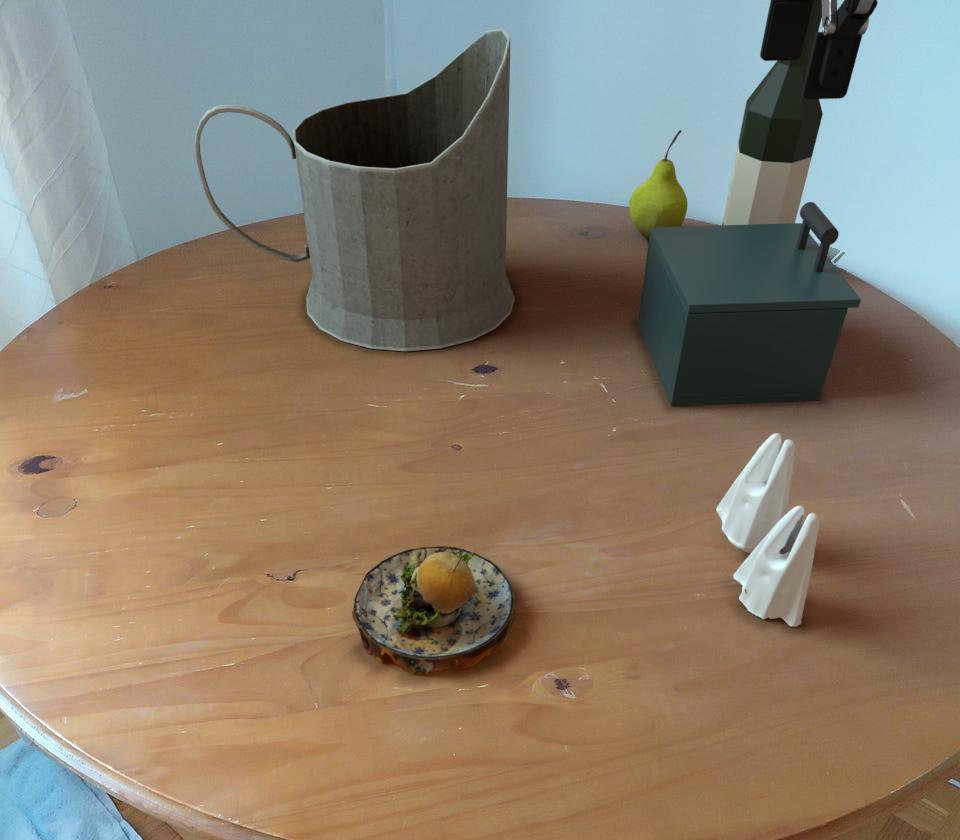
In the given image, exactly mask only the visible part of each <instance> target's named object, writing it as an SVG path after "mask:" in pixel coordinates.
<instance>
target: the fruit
mask: <svg viewBox="0 0 960 840" xmlns="http://www.w3.org/2000/svg"><path fill="white" fill-rule="evenodd" d="M681 133H682V130H681V129H679V130H678V131H677V133H676V134H675V135H674V138H673V139H672V141H671V142H670V144H669V146H668V148H667V149H666V153H665V155H664V158H662V159H660V160H659V161H658V162H657V163H656V164H655V166H654V168H653V171H652V173H651V175H650V176H649V177H648V178H647V179H646V180H645V181H644V182H642V183H641V184H640V185H638V186H637V187H636V188H635V189H634V190H633V192H632V193H631V196H630V197H629V203H628V205H629V208H628V209H629V215H630V218H631V221H632V224H633V226H634V228H635V229H636V230H637V232H638V233H639V234H641V235H642V236H643V237H645V238H646V239H649V237H650V229H651V227H681V226H682V224H683V223H684V221H685V219H686V216H687V213H688V212H687V211H688V198H687V195H686V192H685V190H684V188H683V187H682V186H681V184H680V183H679V180H678V179H677V175H676V167H675V165H674V162H673V161H672V160H671V159H668V155H669V152H670V150H671V148H672V146H673V144H674V143H675V142H676V140H677V138H678V137H679V135H680V134H681Z"/></svg>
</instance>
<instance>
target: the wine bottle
mask: <svg viewBox="0 0 960 840" xmlns="http://www.w3.org/2000/svg"><path fill="white" fill-rule="evenodd" d="M821 24H822V0H814V1H813V5H812V10H811V14H810V19H809V23H808V27H807V32H806V36H805V41H804V45H803V49H802V54H801V56H800V58H799V59H797V60H782V61H775V63H774V64H773V66H772V67H771V68H770V69H769V71H768V72H767V74H766V75H765V76H764V77H763V79H762V80H761V81H760V83H759V84H758V85H757V86H756V88H755V89H754V90H753V92H752V93H751V94H750V96H749V97H748V98H747V100H746V102H745V107H744V112H743V118H742V121H741V122H742V123H741V127H740V133H739V137H738V141H737V147H736V152H735V158H734V163H733V168H732V173H731V178H730V183H729V188H728V193H727V198H726V203H725V209H724V214H723V218H722V223H721V225H752V224H788V223H796V220H797V218H798V217H797V216H798V212H799V209H800V204H801V201H802V197H803V193H804V190H805V185H806V181H807V178H808V173H809V170H810V165H811V163H812V158H813V153H814V150H815V146H816V142H817V139H818V134H819V131H820V127H821V123H822V119H823V115H824V113H823V109H822V104H821V102H820V99H805V98H804V97H803V96H802V87H803V83H804V79H805V75H806V70H807V66H808V62H809V58H810V53H811V49H812V45H813V41H814V36H815V32H820V28H821Z"/></svg>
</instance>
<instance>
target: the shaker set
mask: <svg viewBox="0 0 960 840" xmlns="http://www.w3.org/2000/svg"><path fill="white" fill-rule="evenodd" d="M782 442H783V440H782V435H781V434H780V433H778V432H775V433H772V434H771V435H770V436H769V437H767V438H766V440H764V442H763V443H762V444H761V445H760V446H759V447H758V449H757V450H756V451H755V453H754V454H753V455H752V457H751V458H750V460H749V461H748V463H747V464H746V465H745V466H744V468H743V469H742V471H741V472H740V473H739V475H738V476H737V478H736V479H735V480H734V482H733V483H732V484H731V486H730V488H729V489H728V490H727V492H726V493H725V494H724V496H723V498H722V499H721V501H720V502H719V503H718V505H717V507H716V508H715V509H716V510H715V511H716V513H717V515H718V517H719V518H720V520H721V524H722V525H721V530H722V532H723V533H724V535H725V536H726V538H727V539H728V541H729V542H730V544H732V545H733V546H734V547H735V548H736V549H738V550H740V551H743V552H744V553H747V554H749V555H748V556H747V557H746V559H744V561H743V562H742V564H740V566H739V567H738V569H737V570H736V571H735V572H734V573H733V580H735V581H737V582H738V583H739V584H740V586H742V587H741V593H740V594H739V596H738V599H739V601H740V602H741V603H742V604H743V606H745V608H746V609H747V610H746V611H748V612H750V613H751V614H752V615H754V616H756V617H758V618H761V620H766V619H768V618H769V620H770V619H771V620H772V619H773V620H774V619H779V618H780V619H782V620H783V621H784V622H785V623H786V624H787V625H788V626H789V627H798V626H800V625H801V624H802V623H803V622H802V618H803V613H804V610H805V603H806V599H807V595H808V590H809V585H810V580H811V575H812V569H813V563H814V558H815V552H816V545H817V540H818V535H819V530H820V521H819V517H818V515H817V514H816V513H814V512H810V513H809V514H808V515H807V516H806V518H805V507H804V506H802V505H796V506H794V507H793V508H791V509H790V510H789V511H788V506H789V499H790V492H791V487H792V486H791V485H792V481H793V475H794V467H795V466H794V465H795V458H796V446H795V442H794V441H793V440H792V439H789V438H788V439H785V440H784V442H783V444H782ZM804 518H805V520H804Z"/></svg>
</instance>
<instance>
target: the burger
mask: <svg viewBox="0 0 960 840" xmlns="http://www.w3.org/2000/svg"><path fill="white" fill-rule="evenodd" d="M501 569H502V568H500V567H499V566H498V565H497V564H495V563H494V562H493V561H491V560H490V559H488V558H486V557H484V556H482V555H479V554H478V553H476V552H475V551H471V550H467V549H464V548H460V547H456V546H452V547H451V546H450V547H449V546H447V545H444V546H441V545H435V546H422V547H415V548H410V549H406V550H403V551H401V552H398V553H394V554H393V555H391V556H389V557H387V558H386V559H385V558H384V559H383V560H381V561H380V562H379V563H377V564H376V565H375V566H373V567H372V568H371V569H370V570H369V571H368V572H367V573H366V574H365V575H364V578H363V579H362V581H361V584H360V586H359V588H358V590H357V592H356V594H355V596H354V598H353V600H354V602H353V608H352V610H351V614H352V619H353V622H354V623H355V625H356V627H357V629H358V631H359V635H360V639H361V642H362V646H363V649H364V650H365V652H366V653H368V654H370V656H371V657H374V659H375V660H376V661H378V662H380V663H383V661H384V658H385V654H386V655H388V656H390V658H391V660H392V661H393V662H394V663H395V664H396V665H397V666H398V667H400V668H401V669H403V670H405V671H407V672H409V673H413V674H414V673H416V671H418V672H420V673H422V674H427V673H429V672H430V671H435V670H437V671H440V672H442V671H443V670H444V669H446V668H454V667H455V668H456V669H458V670H461V671H463V670H464V669H466V668H469V667H473V666H475V665H477V664H478V663H479V662H480V661H482V659H483V658H484V657H485V656H486V657H487V656H488V658H490V657H491V656H492V655H494V654H496V652H498V651H499V650H500V649H501V648H502V646H504V644H505V643H506V642H507V640H508V639H509V637H510V635H511V633H512V631H513V629H514V624H515V621H516V608H515V594H514V593H515V592H514V588H513V586H512V583H511V581H510V579H509V578H508V576H507V575H506V574H505V573H504V572H503V570H501Z"/></svg>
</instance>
